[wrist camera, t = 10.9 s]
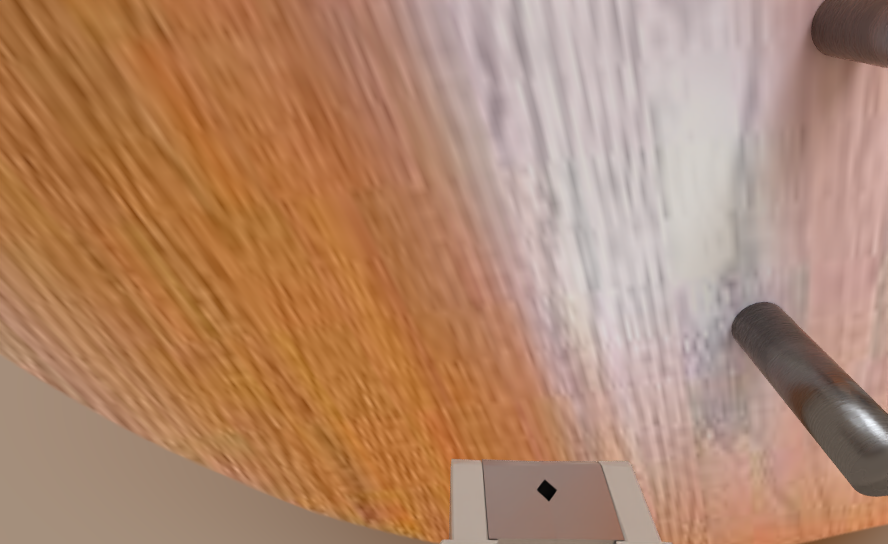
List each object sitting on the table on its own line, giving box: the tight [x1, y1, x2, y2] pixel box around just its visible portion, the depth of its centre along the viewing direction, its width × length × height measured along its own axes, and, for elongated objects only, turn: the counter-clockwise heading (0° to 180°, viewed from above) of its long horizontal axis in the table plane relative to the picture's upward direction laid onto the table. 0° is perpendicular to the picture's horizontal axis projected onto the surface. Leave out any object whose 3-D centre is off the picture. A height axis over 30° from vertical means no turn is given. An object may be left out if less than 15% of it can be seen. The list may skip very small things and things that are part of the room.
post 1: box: [732, 302, 888, 497], centre depth 24 cm, size 2×2×9 cm
